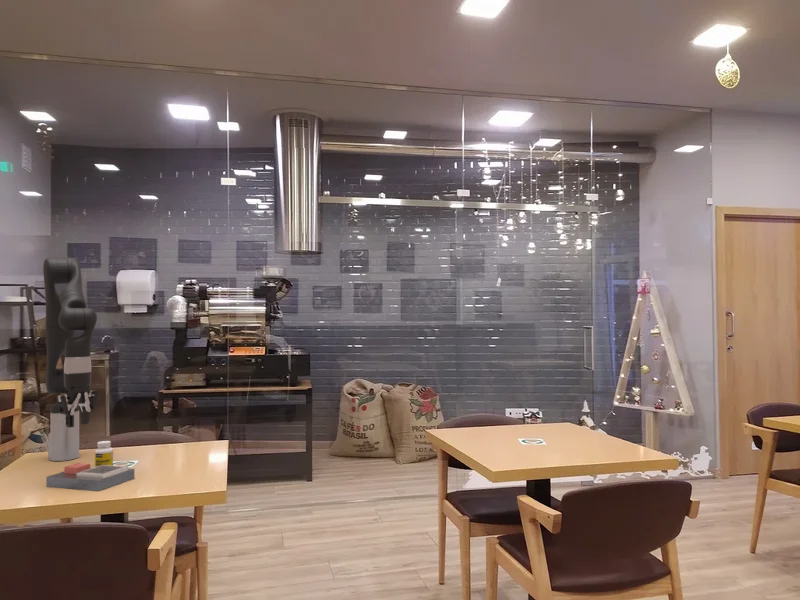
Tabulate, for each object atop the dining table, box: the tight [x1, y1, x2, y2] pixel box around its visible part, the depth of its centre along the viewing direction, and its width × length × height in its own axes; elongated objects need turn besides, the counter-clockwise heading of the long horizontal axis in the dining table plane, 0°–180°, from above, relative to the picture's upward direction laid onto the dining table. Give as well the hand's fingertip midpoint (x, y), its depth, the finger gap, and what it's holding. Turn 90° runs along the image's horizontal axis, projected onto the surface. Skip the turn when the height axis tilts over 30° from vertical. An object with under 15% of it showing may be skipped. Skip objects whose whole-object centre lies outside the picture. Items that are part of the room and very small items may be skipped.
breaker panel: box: [45, 464, 135, 492], centre depth 176 cm, size 20×14×4 cm
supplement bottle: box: [94, 440, 114, 466], centre depth 190 cm, size 5×5×10 cm
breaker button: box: [63, 462, 91, 475], centre depth 178 cm, size 5×5×4 cm
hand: (77, 425), depth 179 cm, fingers open, 5 cm apart
